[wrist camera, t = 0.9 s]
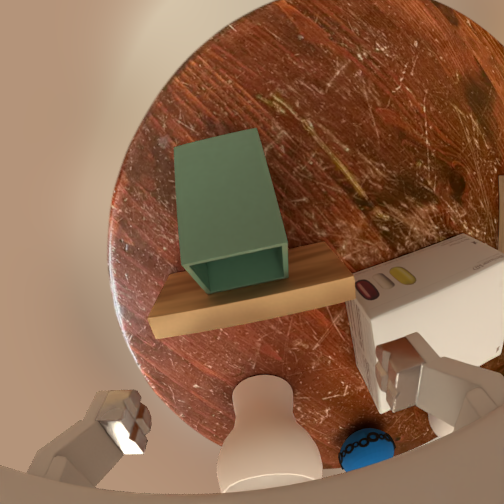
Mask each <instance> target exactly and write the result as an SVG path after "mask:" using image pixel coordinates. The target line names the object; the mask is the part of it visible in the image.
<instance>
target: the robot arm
mask: <svg viewBox="0 0 504 504" xmlns="http://www.w3.org/2000/svg"><path fill="white" fill-rule="evenodd" d="M375 355H376V357H377V359H378V362H377V363H376V365H375V374H376V380H377V383H378V385H379V387H380V389H381V391H383V392H385V393H386V401H387V403H388V405H389V406H390V408H391V410H392V412H397V411H400V410H403V409H405V408H408V407H411V406H414V405H416V406H417V407H419V408H420V409H422V410H424V411H426V412H428V413H429V414H431V415H433V416H435V417H436V418H438V419H440V420H442V421H444V422H445V423H447V424H449V425H451V426H453V427H454V430H453V432H452V433H450V434H448V435H446V436H443V437H441V438H439V439H437V440H435V441H433V442H430V443H428V444H425V445H423V446H421V447H418V448H416V449H413V450H411V451H408V452H406V453H403V454H400V455H398V456H395V457H392V458H389V459H387V460H384V461H381V462H378V463H375V464H372V465H369V466H365V467H362V468H359V469H355V470H352V471H348V472H345V473H341V474H337V475H333V476H329V477H325V478H321V479H316V480H312V481H307V482H302V483H297V484H291V485H286V486H280V487H273V488H266V489H258V490H250V491H240V492H228V493H213V494H150V493H134V492H124V491H114V490H106V489H98V488H96V487H95V486H96V485H97V484H98V483H99V482H100V481H101V480H102V479H103V477H104V476H105V475H106V474H107V473H108V472H109V471H110V470H111V469H112V467H113V466H114V465H115V464H116V463H117V462H118V461H119V460H120V459H121V458H122V456H123V454H144V453H145V449H146V445H147V441H148V440H147V438H146V437H145V435H146V434H147V433H148V432H149V431H150V429H151V415H150V412H149V410H148V408H147V407H146V406H145V405H143V404H142V403H140V401H141V396H140V394H139V393H138V391H136V390H111V391H99V392H97V393H96V395H95V397H94V399H93V401H92V403H91V405H90V407H89V409H88V411H87V413H86V415H85V417H84V419H83V421H82V420H80V421H78V422H77V423H75V424H74V425H73V426H71V427H70V428H69V429H67V430H66V431H65V432H63V433H62V434H61V435H59V436H58V437H56V438H55V439H54V440H52V441H51V442H50V443H48V444H47V445H45V446H44V447H43V448H41V449H40V450H38V451H37V453H36V455H35V457H34V459H33V461H32V463H31V465H30V467H29V469H28V471H27V473H24V472H20V471H17V470H13V469H11V468H8V467H4V466H2V465H0V504H504V377H503V375H502V374H501V373H498V372H494V371H491V370H487V369H484V368H481V367H477V366H474V365H471V364H467V363H464V362H461V361H458V360H455V359H451V358H448V357H445V356H443V357H441V358H440V356H439V355H438V354H437V353H436V352H435V351H434V350H433V348H432V347H431V346H430V345H429V344H428V343H427V342H426V340H425V339H424V338H423V337H422V336H421V335H420V334H419V333H418V332H415V333H412V334H409V335H406V336H404V337H401V338H398V339H395V340H392V341H389V342H386V343H383V344H380V345H377V346H376V349H375Z"/></svg>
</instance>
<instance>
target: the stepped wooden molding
mask: <svg viewBox="0 0 504 504" xmlns="http://www.w3.org/2000/svg"><path fill="white" fill-rule="evenodd" d="M288 264H289V278H286V279H281V280H277V281H272V282H267V283H263V284H258V285H253V286H248V287H244V288H239V289H234V290H229V291H224V292H219V293H214V294H209V295H207V294H206V293H205V291H204V290H203V289H202V288H201V287H200V286H199V285H198V284H197V282H196V281H195V280H194V279H193V278H192V277H191V276H190V274H189V273H188V272H187V271H183V272H178V273H173V274H170V275H169V277H168V278H167V280H166V282H165V284H164V286H163V288H162V290H161V292H160V294H159V296H158V298H157V300H156V302H155V304H154V306H153V308H152V310H151V312H150V314H149V316H148V318H147V319H148V322H149V324H150V326H151V329H152V331H153V334H154V336H155V339H160V338H167V337H173V336H180V335H186V334H192V333H198V332H204V331H210V330H215V329H221V328H226V327H232V326H237V325H242V324H247V323H252V322H257V321H262V320H267V319H272V318H277V317H281V316H286V315H291V314H295V313H300V312H304V311H308V310H313V309H317V308H321V307H326V306H330V305H334V304H338V303H342V302H346V301H350V300H354V299H356V291H355V278H354V275H353V274H352V273H351V272H350V270H349V269H348V268H347V267H346V266H345V264H344V263H343V262H342V261H341V260H340V259H339V257H338V256H337V255H336V254H335V253H334V252H333V250H332V249H331V248H330V247H329V246H328V245H327V243H326V242H325V241H324V242H319V243H314V244H310V245H305V246H300V247H296V248H291V249H288Z"/></svg>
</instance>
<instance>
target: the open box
mask: <svg viewBox="0 0 504 504" xmlns="http://www.w3.org/2000/svg"><path fill="white" fill-rule="evenodd" d="M498 177H499V239H498V251H500V252H502V253H504V175H499V176H498Z"/></svg>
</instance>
